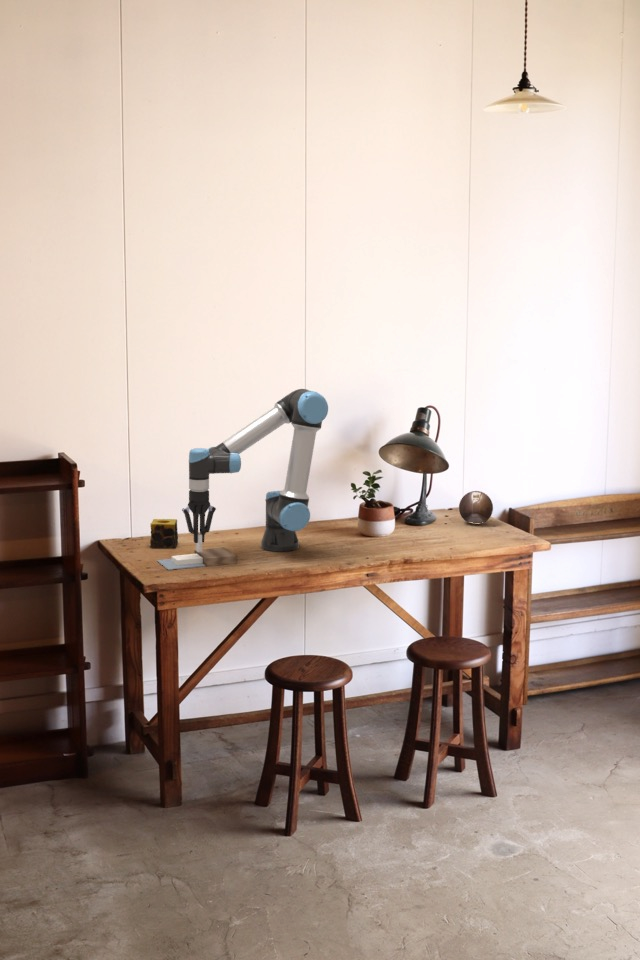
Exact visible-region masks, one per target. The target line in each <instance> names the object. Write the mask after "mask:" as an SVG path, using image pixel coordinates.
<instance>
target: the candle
mask: <svg viewBox="0 0 640 960" xmlns="http://www.w3.org/2000/svg"><path fill="white" fill-rule="evenodd" d="M178 538H179V535H178V519H177V518H176V519H175V518H173V519H172V518H153V519H152V521H151V523H150V542H149V543H150V548H151V549H176V548H177V546H178V543H179V541H178V540H179V539H178Z"/></svg>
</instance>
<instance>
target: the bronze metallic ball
mask: <svg viewBox="0 0 640 960" xmlns="http://www.w3.org/2000/svg"><path fill="white" fill-rule="evenodd" d="M458 504H459V505H458V511H459V515H460V516H461V518H462V519H463V521H464V522H466V521H467V523H468V522H473V523H482V522H484V523H486V522H488V520H489V519H490V518H491V517H492V514H493V512H494V505H493V502H492V499H491V498H490V496H489V495H488V494H486V493H485V492H483V491H478V490H472V491H469V492H467V493H466V494H464V495H463V496H462V497H461V499H460V501H459V503H458ZM482 524H483V523H482Z"/></svg>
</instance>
